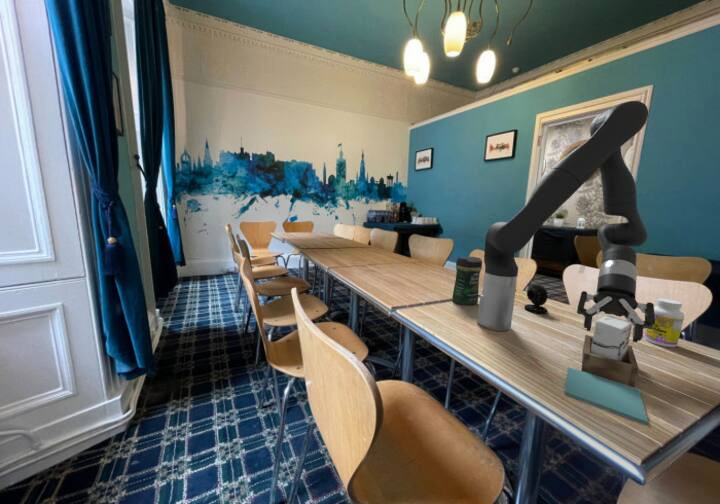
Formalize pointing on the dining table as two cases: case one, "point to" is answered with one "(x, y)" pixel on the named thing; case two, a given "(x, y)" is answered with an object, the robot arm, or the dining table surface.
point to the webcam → (537, 299)
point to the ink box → (611, 338)
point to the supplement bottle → (666, 323)
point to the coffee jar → (467, 280)
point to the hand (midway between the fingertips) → (611, 335)
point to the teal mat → (606, 394)
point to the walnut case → (610, 365)
